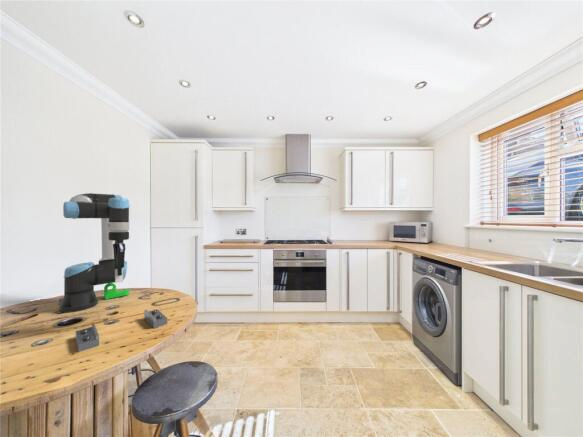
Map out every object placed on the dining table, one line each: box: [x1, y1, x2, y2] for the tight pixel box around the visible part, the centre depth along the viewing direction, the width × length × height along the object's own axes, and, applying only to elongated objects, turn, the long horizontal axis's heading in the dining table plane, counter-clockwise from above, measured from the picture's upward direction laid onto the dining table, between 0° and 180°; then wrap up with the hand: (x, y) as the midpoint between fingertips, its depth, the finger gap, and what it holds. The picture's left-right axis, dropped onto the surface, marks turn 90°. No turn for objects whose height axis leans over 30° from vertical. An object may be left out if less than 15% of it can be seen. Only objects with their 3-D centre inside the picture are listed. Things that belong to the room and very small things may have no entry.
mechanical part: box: [103, 283, 130, 300], centre depth 138 cm, size 12×6×8 cm, turn 136°
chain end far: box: [143, 308, 168, 329], centre depth 103 cm, size 14×6×4 cm, turn 48°
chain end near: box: [75, 323, 100, 353], centre depth 85 cm, size 14×6×4 cm, turn 48°
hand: (119, 282), depth 103 cm, fingers closed
